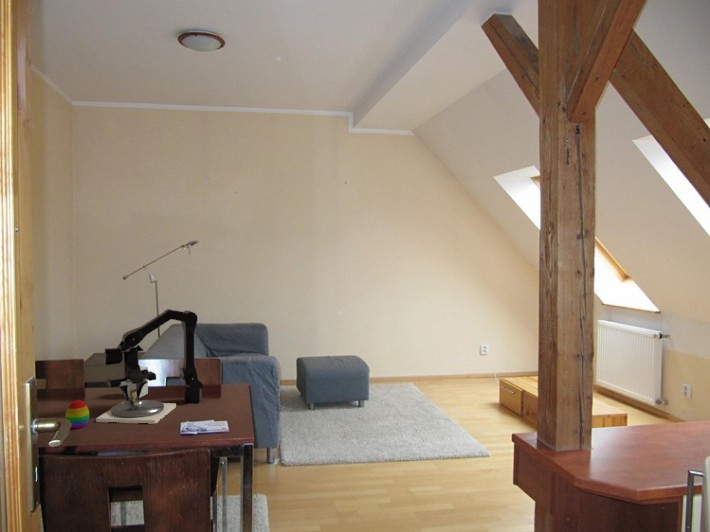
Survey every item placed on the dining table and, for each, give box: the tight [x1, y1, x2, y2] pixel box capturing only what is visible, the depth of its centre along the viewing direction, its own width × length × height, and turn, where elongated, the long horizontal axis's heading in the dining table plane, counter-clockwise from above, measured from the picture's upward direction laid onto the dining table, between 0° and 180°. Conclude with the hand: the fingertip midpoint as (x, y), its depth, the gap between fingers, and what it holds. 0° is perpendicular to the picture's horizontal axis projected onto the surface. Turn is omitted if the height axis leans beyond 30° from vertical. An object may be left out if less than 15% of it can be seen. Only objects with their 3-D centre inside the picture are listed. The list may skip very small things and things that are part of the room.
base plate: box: [95, 401, 177, 425], centre depth 236 cm, size 23×23×2 cm
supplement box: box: [126, 366, 149, 399], centre depth 263 cm, size 7×7×13 cm
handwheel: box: [110, 389, 164, 417], centre depth 236 cm, size 20×20×6 cm
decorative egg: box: [64, 399, 90, 429], centre depth 219 cm, size 8×8×10 cm
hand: (132, 399), depth 243 cm, fingers open, 4 cm apart
